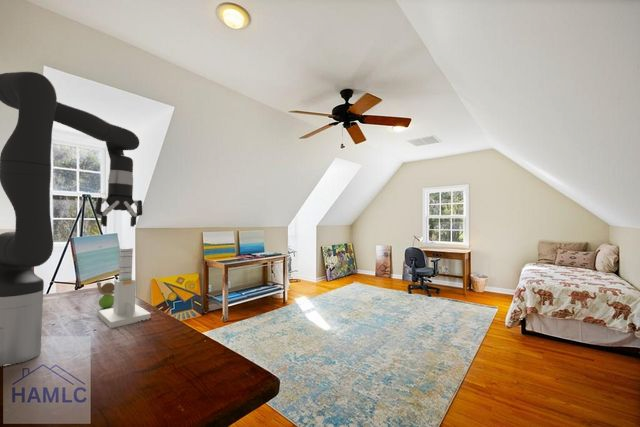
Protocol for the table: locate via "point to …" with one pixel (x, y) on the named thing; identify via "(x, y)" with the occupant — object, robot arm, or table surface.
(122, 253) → the steel bar
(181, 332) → the table surface
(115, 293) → the grey stand
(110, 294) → the snail figurine
